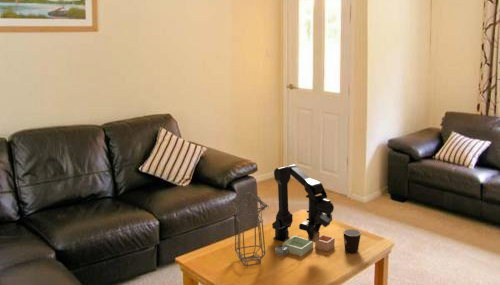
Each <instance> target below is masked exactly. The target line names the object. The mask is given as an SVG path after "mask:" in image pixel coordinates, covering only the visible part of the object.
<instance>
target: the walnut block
mask: <svg viewBox="0 0 500 285" xmlns="http://www.w3.org/2000/svg"><path fill="white" fill-rule="evenodd" d="M319 236H320V231H319V232H318V231H314V234H313V239H312V240H311V239H310V237H309V235H308V234H307V239H308V240H309V241H312V242H313V243H315V242H316V241H318V240H319Z"/></svg>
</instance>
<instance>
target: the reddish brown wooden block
mask: <svg viewBox="0 0 500 285" xmlns="http://www.w3.org/2000/svg"><path fill="white" fill-rule="evenodd" d="M274 250H275V251H274V254H275V255H278V256H281V257H286V256H287V255H288V254H289V252H288V247H285V246H283V245H281V244H279V245H277V246H275V248H274Z"/></svg>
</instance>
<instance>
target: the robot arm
mask: <svg viewBox="0 0 500 285" xmlns="http://www.w3.org/2000/svg"><path fill="white" fill-rule="evenodd" d="M273 175H274V176H273V177H274V180H275V182H276V183H277V195H278V210H277V213H276V215H275V221H274V222H273V223H272V224H271V225H272V226H271V227H272V229H273V230H274V237H273V238H272V239H274V240H276V241H278V242H285V241H287V240H288V239H290V238H291V237H290V235H289V233H290V232H289V228H290V227H291V225H292V223H293V221H294V220H293V213H291V212H290V211H289V193H288V192H289V191H288V190H289V189H288V188H289V186H288V185H289V182H290V180H291V176H292V177H293V178H294V179H295V180H296V181H297V182H299V184H300V185H302V186H303V187H304V191H305V192H306V193H307V195H306V196H305V198H307V199H308V208H307V209H306V213H308V215H307V216H308V217H306V221H303V222H301V223H299V225H298V228H299V230H301V231H306V233H307V236H308V235H309V237H310V239H311V240H312V239H313V234H314V231H318V232H320V228H321V226H322V227H325V228H326V227H328V226H330V225H331V222H333V214H332V213H333V212H334V211H335V210H334V208H335V206H334V204H333V203H331V202H332V201H331V199H327V198H328V195H327V192H326V190H325V188H324V185H323V183H321V181H318V180H316V179H314V178H311V177H309V176H308V175H307V174H306V173H305V172H304V171H303V170H301V169H300V168H299V166H298V165H296V164H289V165H287V166H281V167H277V168H275V169H274V171H273Z"/></svg>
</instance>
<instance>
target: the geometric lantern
mask: <svg viewBox="0 0 500 285" xmlns="http://www.w3.org/2000/svg"><path fill="white" fill-rule="evenodd" d="M254 201H257V202H258V203H259V205H260V207H258V208H255V206H254ZM246 202H247V204H245V203H246ZM229 203H230V206H231V209H232V210H233V212H234V214H235V233H234V236H235V237H234V252H235V254H236V255H237V257H238V258H239V260H240V261H241V260H242V261H241V262H242V263H243V265H244V266H245V265H246V267H248V265H249V266H255V265H260V264H262V259H263V258H264V257H265V256H266V254H267V253H266V246H265V234H264V224H263V222H264V219H262V217H263V211H265V210H266V208H269V205H268V204H267V203H265V202H264V201H263V200H262V199H261V197H260V196H258V195H255V194H253V193H252V192H249V191H248V192H245V193H244V194H242V195H240V196H237V197H235V198H233V199H231V200H230V201H229ZM250 205H251V207H252V208H251V207H250ZM244 207H247V208H244ZM256 210H258V211H256ZM244 211H245V212H244ZM246 211H247V213H246ZM250 211H251V212H252V213H251V214H250ZM238 212H239V214H238ZM242 213H243V214H244V215H241V214H242ZM250 216H253V217H254V222H247V223H244V222H245V221H246V219H247V218H248V217H250ZM240 217H245V218H244V220H243V221H242V222H241V220H240ZM256 220H257V221H256ZM252 224H254V245H248V246H245V238H244V237H245V232H244V225H245V226H246V225H252ZM256 224H257V225H256ZM256 228H258V229H257V230H258V241H259V245H257V231H256ZM241 230H242V232H241ZM241 233H242V247H241ZM262 240H263V241H262ZM252 247H253V248H254V249H253V251H252V252H247V253H245V252H246V250H245V249H247V248H252ZM256 247H258V248H257V250H256ZM241 249H243V253H242V252H241ZM260 249H261V256H260V255H259V254H258V252H259V250H260ZM249 254H252V255H250V256H249ZM246 255H248V256H246ZM246 257H247V258H246ZM248 259H251V260H248ZM253 261H259V262H258V263H250V264H249V262H253Z"/></svg>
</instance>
